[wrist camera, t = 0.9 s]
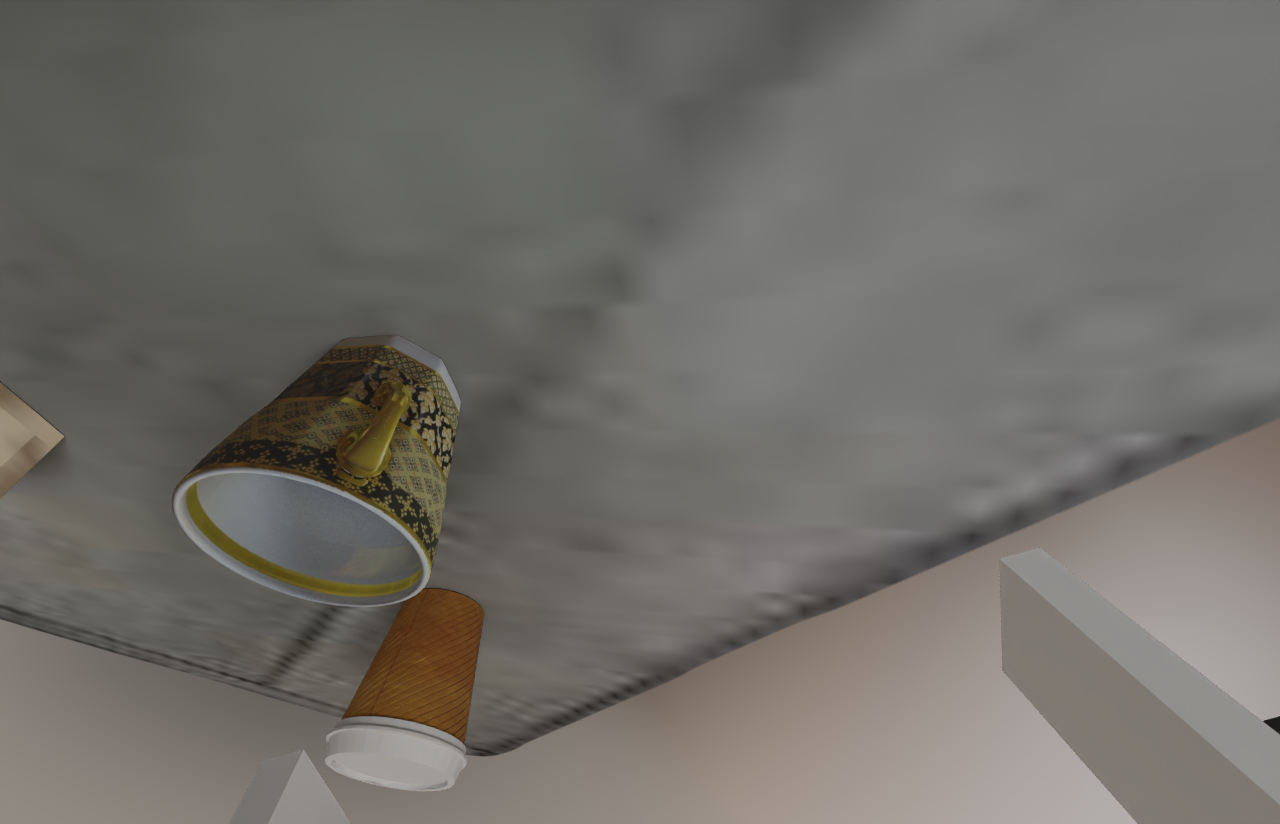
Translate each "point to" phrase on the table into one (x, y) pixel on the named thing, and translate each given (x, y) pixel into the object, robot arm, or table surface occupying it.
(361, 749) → the disposable coffee cup
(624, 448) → the table surface
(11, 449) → the wooden box
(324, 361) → the ceramic cup
